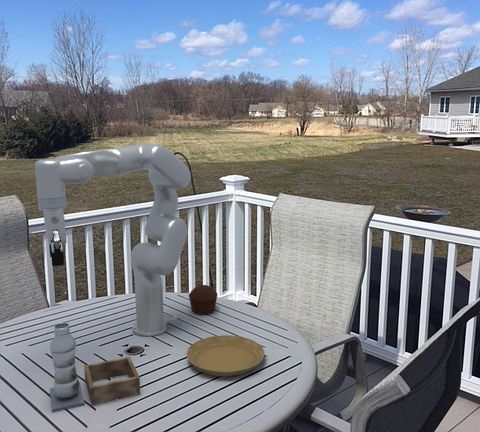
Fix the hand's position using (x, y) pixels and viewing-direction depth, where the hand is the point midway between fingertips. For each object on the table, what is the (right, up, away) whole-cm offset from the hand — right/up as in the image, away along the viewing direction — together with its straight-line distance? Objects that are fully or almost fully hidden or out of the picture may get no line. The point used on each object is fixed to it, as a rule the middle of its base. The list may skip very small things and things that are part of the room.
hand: (57, 261), depth 140 cm
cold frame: (+17, -35, -5) cm, 39 cm away
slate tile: (+6, -36, -10) cm, 38 cm away
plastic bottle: (+7, -35, -10) cm, 37 cm away
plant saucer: (+49, -32, +10) cm, 59 cm away
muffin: (+39, -24, +48) cm, 67 cm away
